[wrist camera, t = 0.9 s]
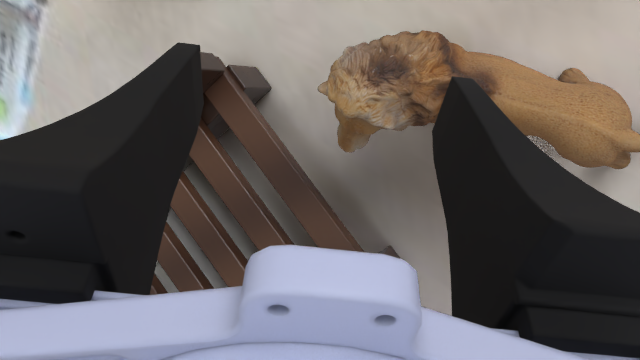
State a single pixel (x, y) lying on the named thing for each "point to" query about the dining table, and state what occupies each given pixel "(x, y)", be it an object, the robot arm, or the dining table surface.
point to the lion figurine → (494, 78)
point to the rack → (240, 186)
